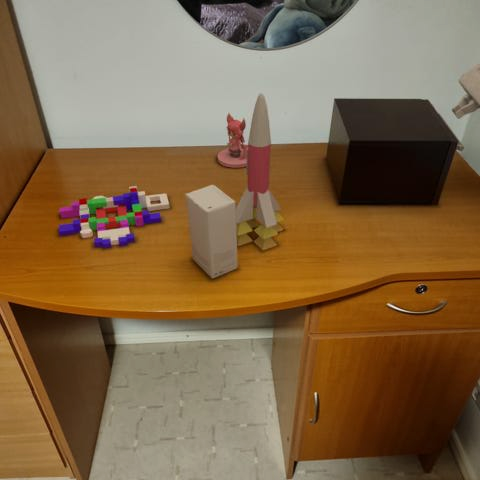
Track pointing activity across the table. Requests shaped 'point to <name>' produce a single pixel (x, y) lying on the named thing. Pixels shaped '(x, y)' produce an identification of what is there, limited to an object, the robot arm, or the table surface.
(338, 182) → the oven
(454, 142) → the oven door
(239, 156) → the toy figure
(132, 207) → the building block set
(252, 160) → the toy rocket
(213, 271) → the cosmetic box
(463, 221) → the table surface
